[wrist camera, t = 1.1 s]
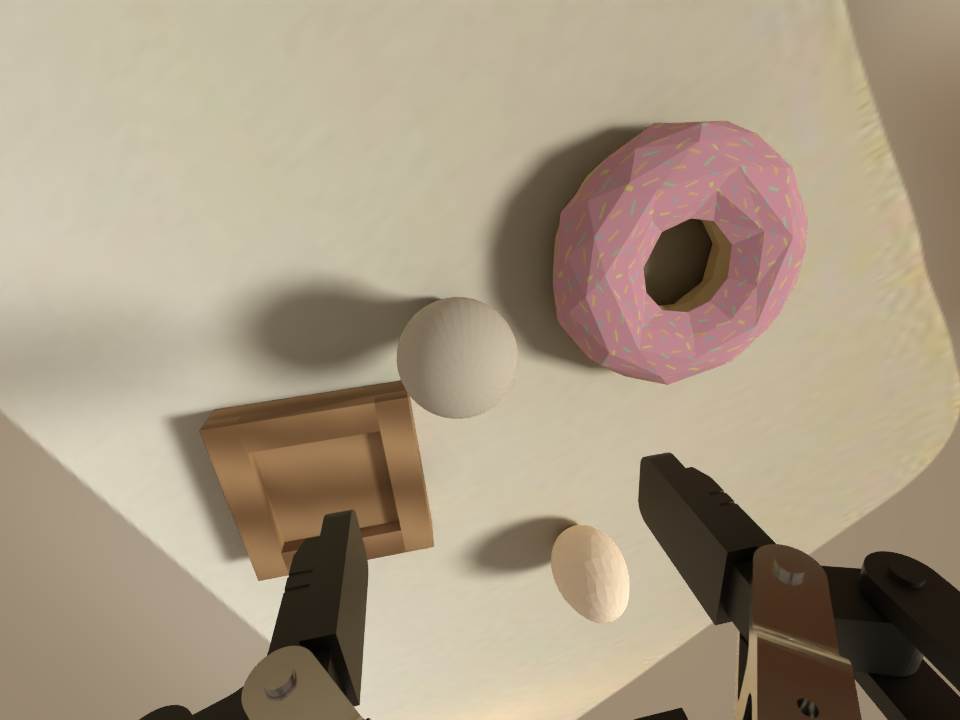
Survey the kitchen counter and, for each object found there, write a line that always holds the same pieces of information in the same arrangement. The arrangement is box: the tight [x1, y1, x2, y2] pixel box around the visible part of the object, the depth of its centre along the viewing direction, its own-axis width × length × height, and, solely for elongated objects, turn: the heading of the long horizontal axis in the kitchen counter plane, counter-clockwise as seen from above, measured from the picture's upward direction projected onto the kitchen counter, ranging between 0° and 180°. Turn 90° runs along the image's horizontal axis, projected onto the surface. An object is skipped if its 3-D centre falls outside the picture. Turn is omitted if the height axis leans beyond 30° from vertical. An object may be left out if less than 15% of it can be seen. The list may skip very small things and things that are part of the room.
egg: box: [551, 525, 629, 623], centre depth 35 cm, size 5×5×8 cm
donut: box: [553, 121, 808, 385], centre depth 28 cm, size 16×15×5 cm
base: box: [199, 381, 434, 581], centre depth 31 cm, size 12×12×2 cm
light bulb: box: [397, 297, 518, 419], centre depth 25 cm, size 6×6×10 cm
